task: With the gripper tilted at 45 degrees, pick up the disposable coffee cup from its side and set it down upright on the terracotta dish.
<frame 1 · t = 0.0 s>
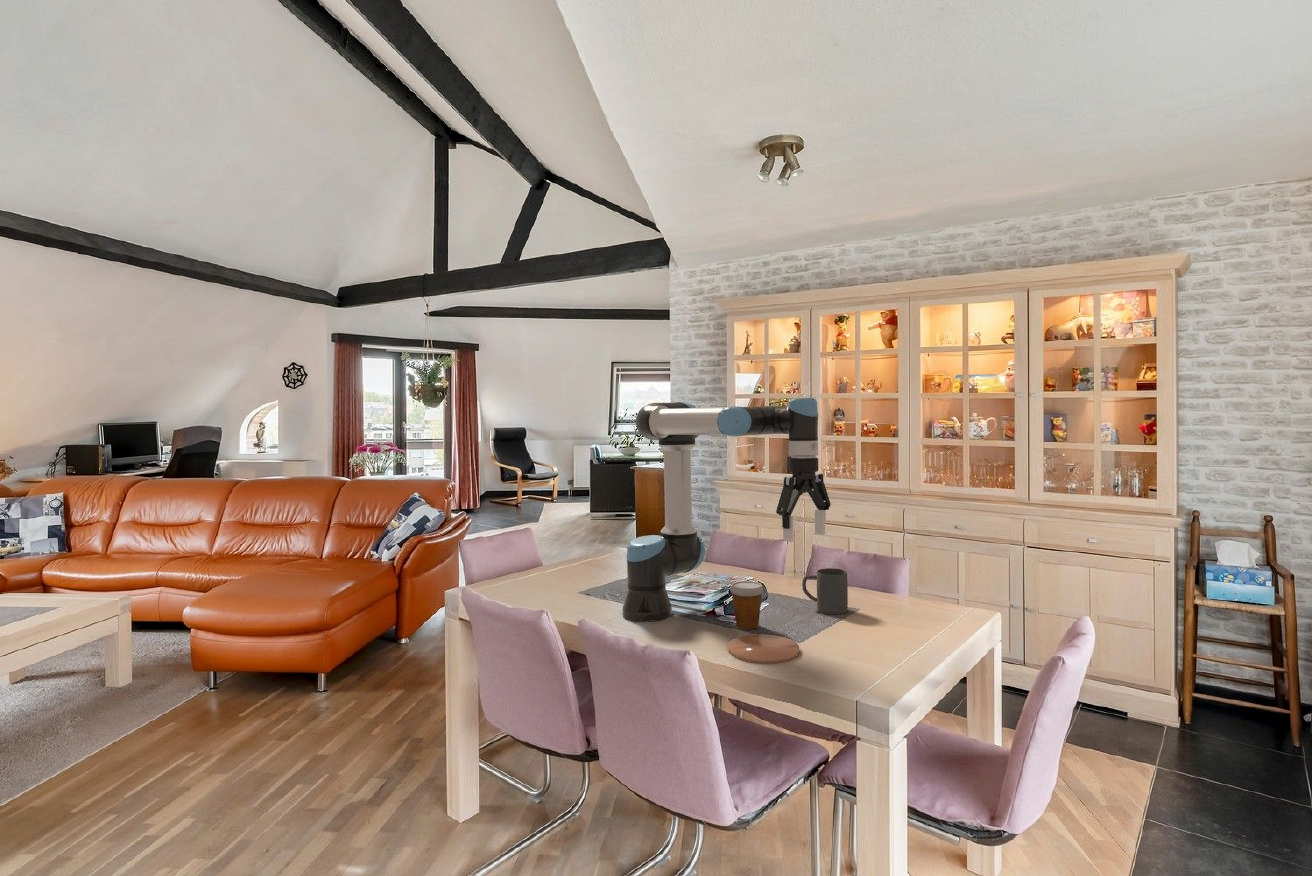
hand: (804, 537, 178), 28 cm above the table, tool pointing down, fingers open, 13 cm apart
disposable coffee cup: (747, 627, 194), on the table
mug: (824, 610, 209), on the table
terracotta dish: (763, 650, 174), on the table
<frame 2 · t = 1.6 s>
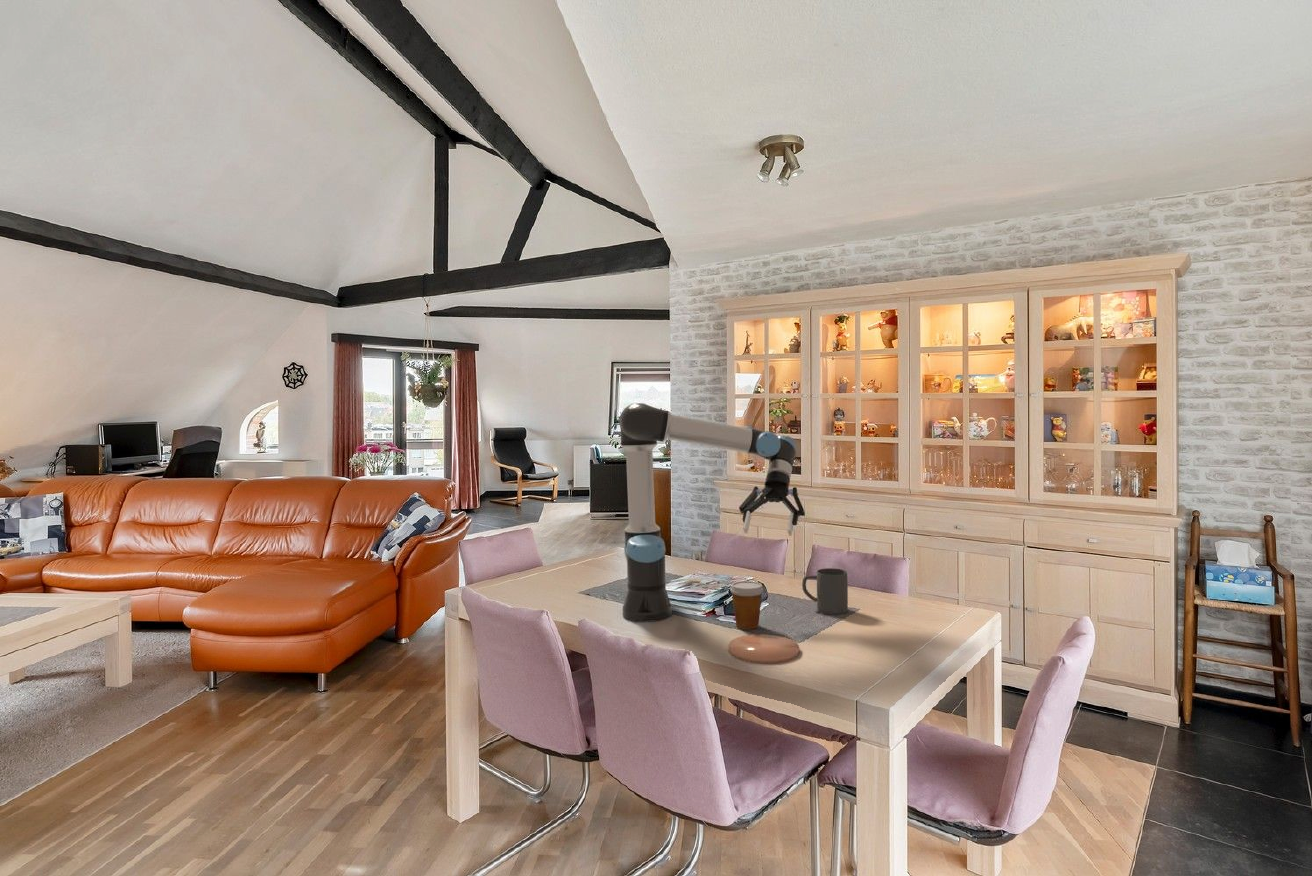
hand: (767, 532, 204), 25 cm above the table, tool tilted 45°, fingers open, 13 cm apart
nothing on the table moved.
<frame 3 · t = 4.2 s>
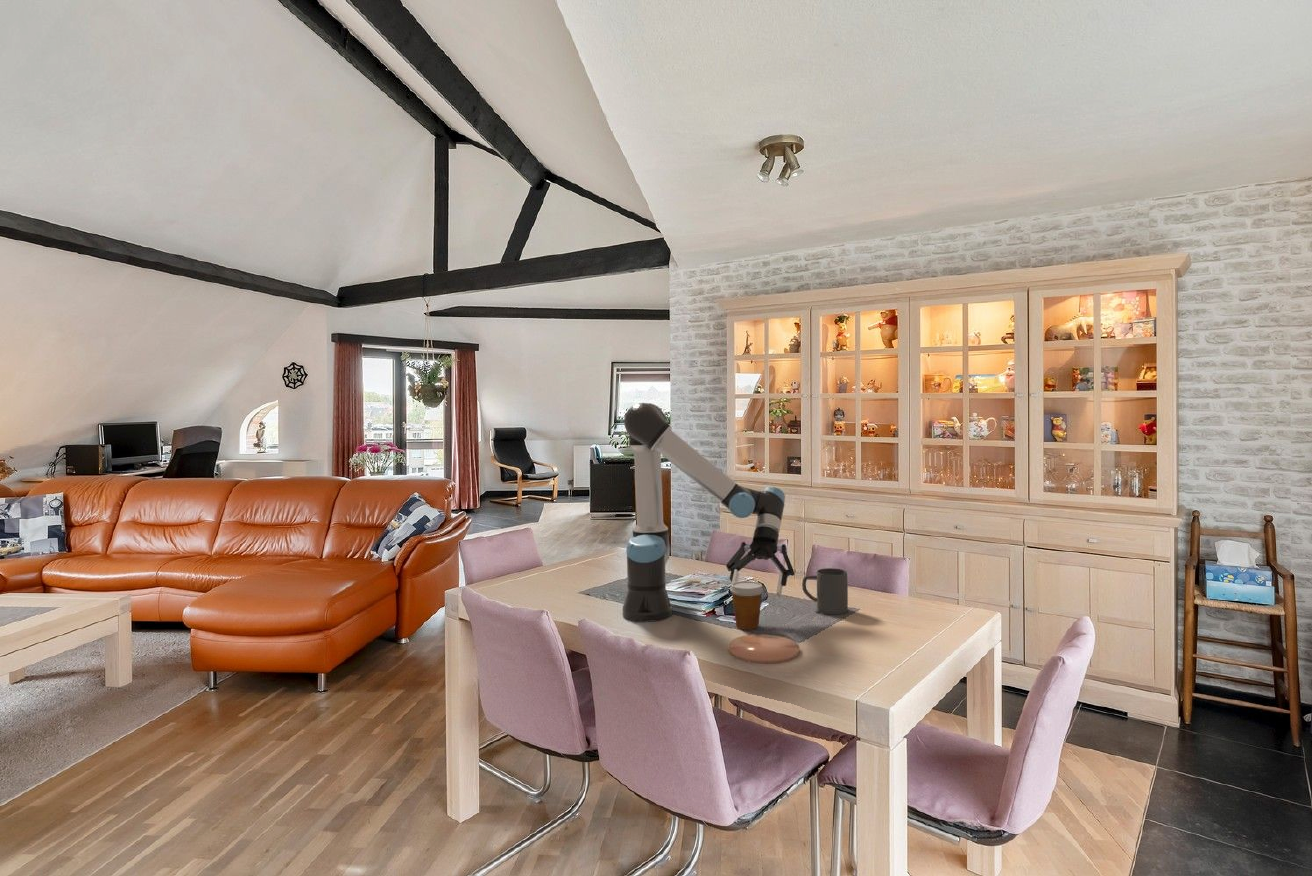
hand: (755, 593, 197), 9 cm above the table, tool tilted 45°, fingers open, 13 cm apart
nothing on the table moved.
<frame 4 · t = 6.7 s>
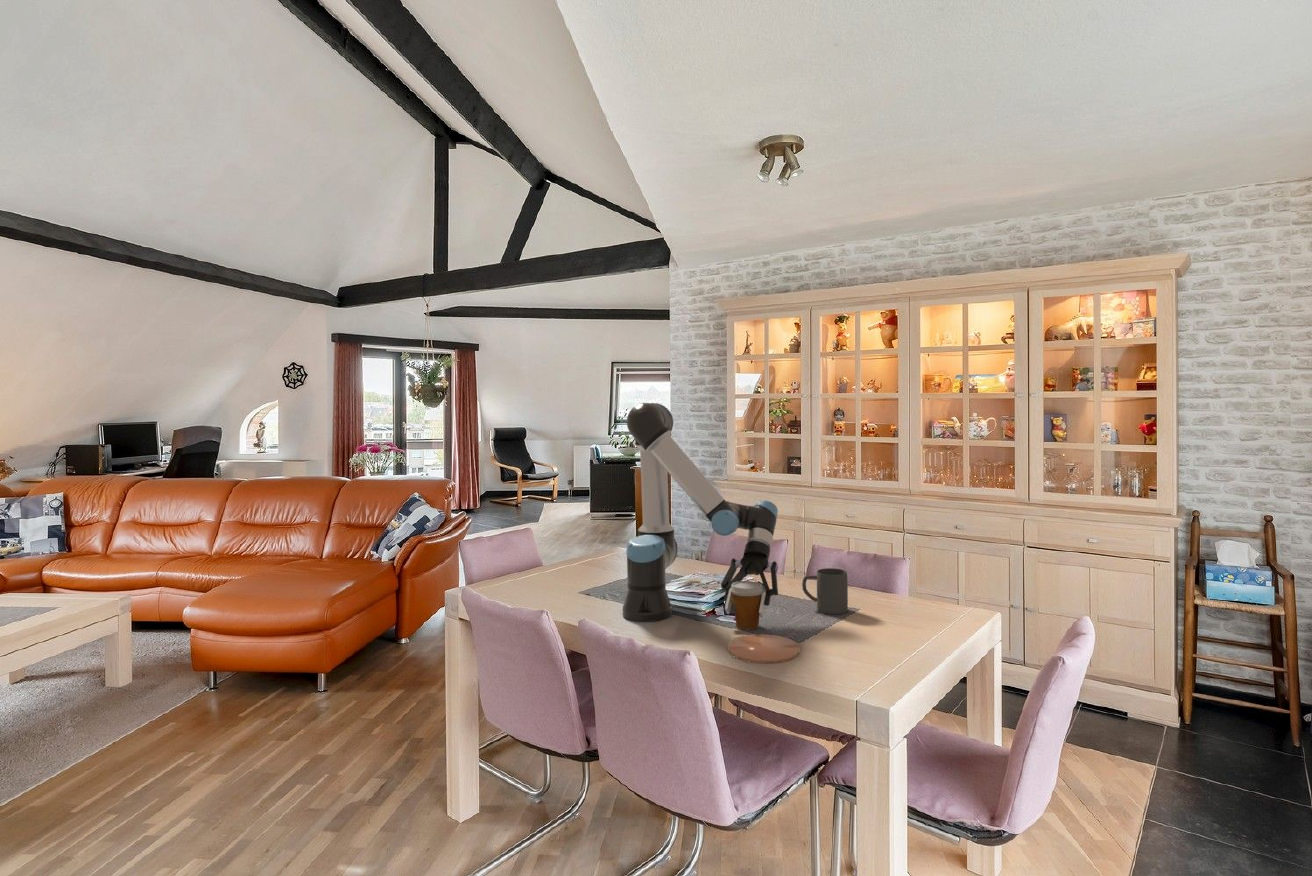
hand: (743, 613, 191), 5 cm above the table, tool tilted 45°, fingers closed on disposable coffee cup, 9 cm apart
disposable coffee cup: (747, 626, 194), on the table, touching gripper
everything else where it was.
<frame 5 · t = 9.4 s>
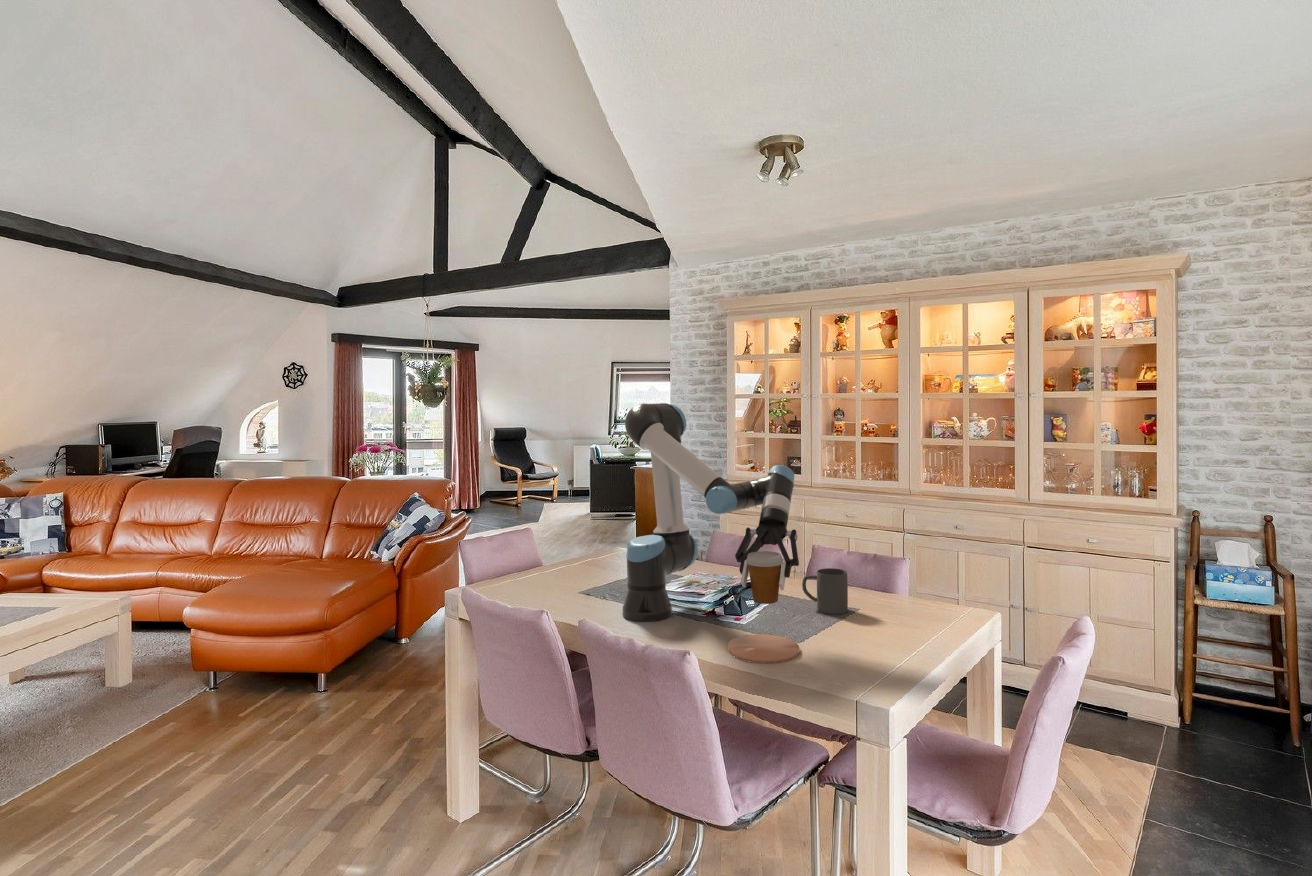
hand: (762, 585, 173), 17 cm above the table, tool tilted 45°, fingers closed on disposable coffee cup, 9 cm apart
disposable coffee cup: (765, 601, 176), point 12 cm above the table, touching gripper
everything else where it was.
when the fingers open (7 cm above the table, at t = 12.3 s): disposable coffee cup moves 3 cm, resting on terracotta dish.
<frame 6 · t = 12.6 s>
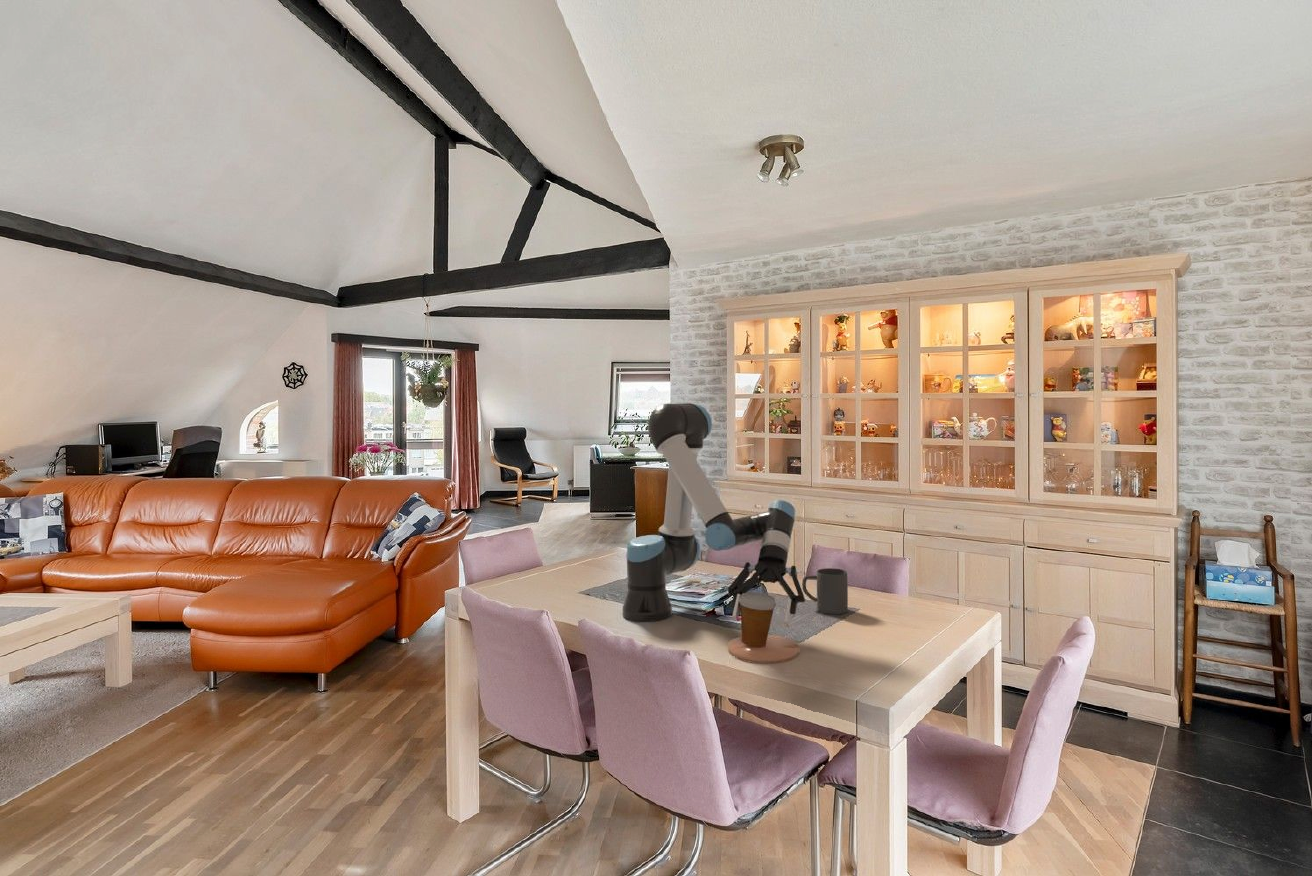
hand: (760, 621, 172), 8 cm above the table, tool tilted 45°, fingers open, 13 cm apart
disposable coffee cup: (753, 643, 176), point 1 cm above the table, touching gripper, terracotta dish
everything else where it was.
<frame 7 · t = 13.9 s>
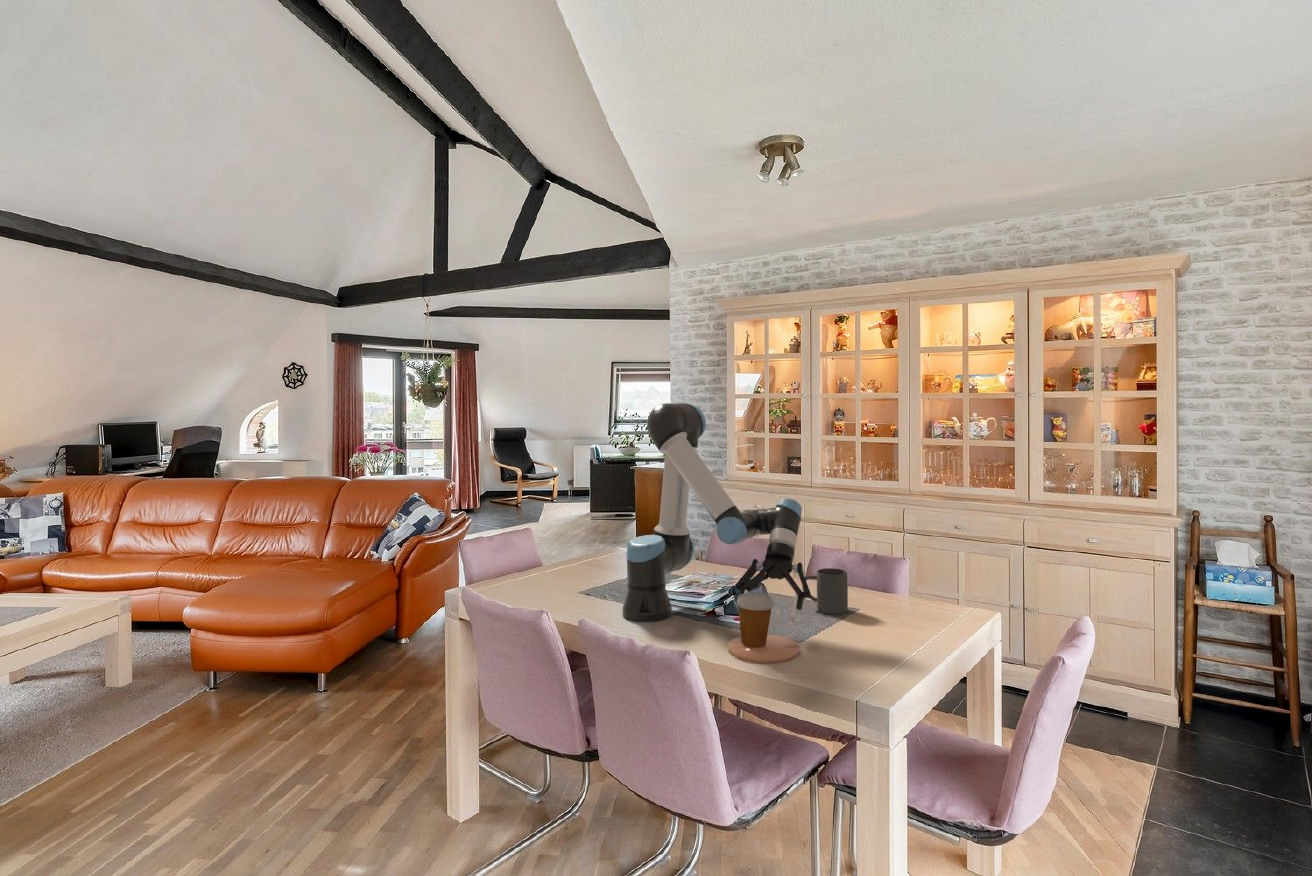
hand: (767, 617, 177), 8 cm above the table, tool tilted 45°, fingers open, 13 cm apart
disposable coffee cup: (753, 644, 176), point 1 cm above the table, touching terracotta dish
everything else where it was.
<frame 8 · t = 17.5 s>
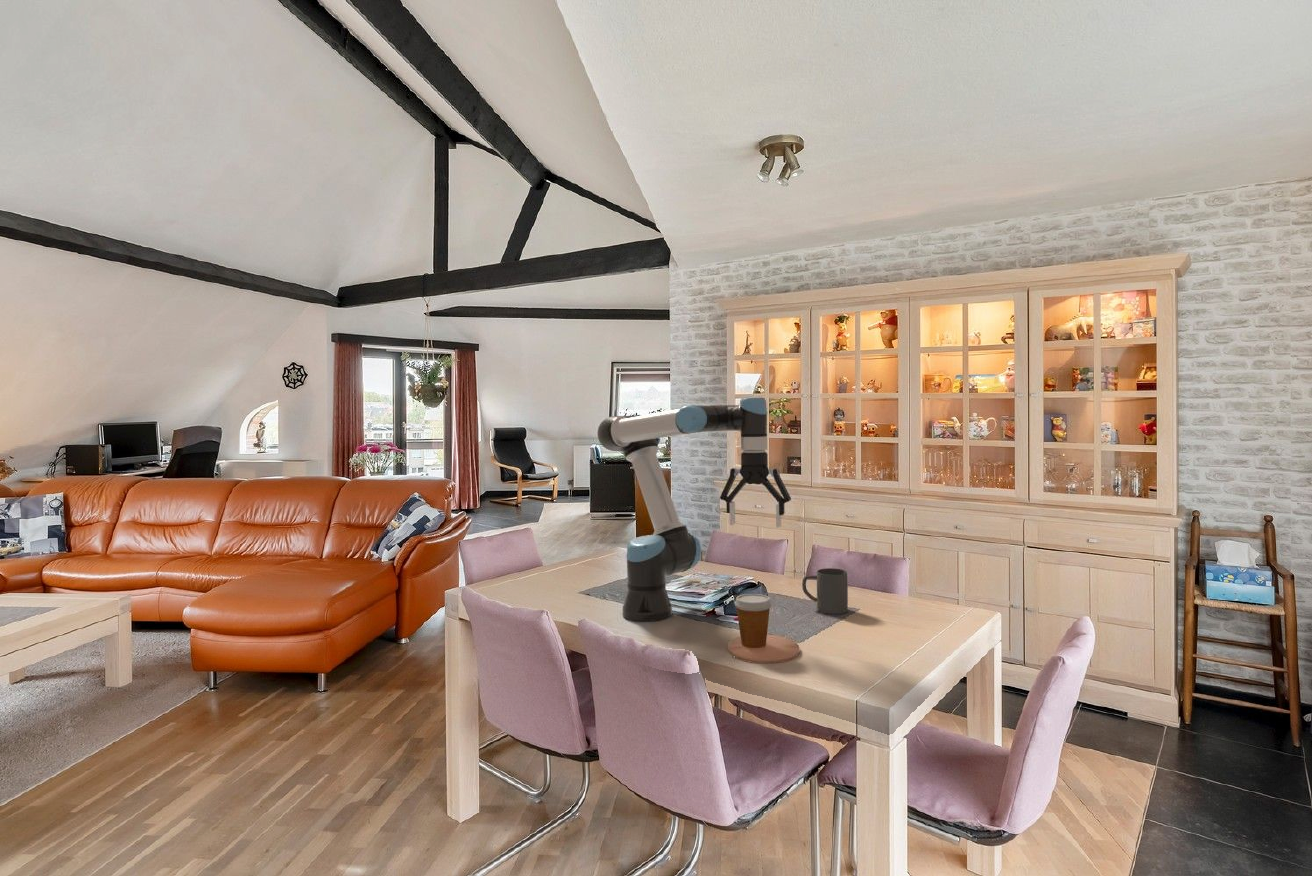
hand: (755, 525, 195), 29 cm above the table, tool pointing down, fingers open, 13 cm apart
nothing on the table moved.
at the end: disposable coffee cup inside the target area on the terracotta dish (2.7 cm from its centre), point 1.0 cm above the terracotta dish's base; disposable coffee cup tilted 0°; the gripper is holding nothing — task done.
